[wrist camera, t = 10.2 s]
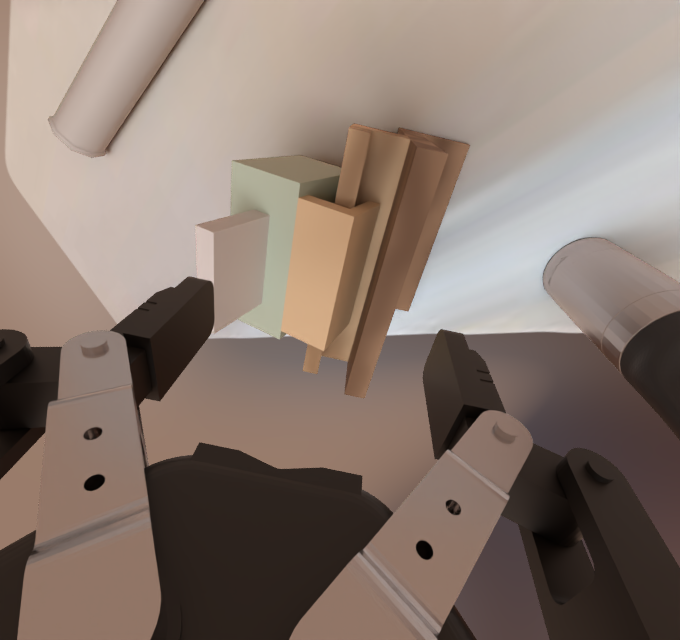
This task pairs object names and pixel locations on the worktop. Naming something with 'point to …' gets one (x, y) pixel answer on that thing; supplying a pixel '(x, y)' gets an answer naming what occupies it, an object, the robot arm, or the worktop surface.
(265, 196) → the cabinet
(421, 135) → the wall board
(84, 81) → the tube
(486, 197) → the worktop surface
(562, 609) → the robot arm
